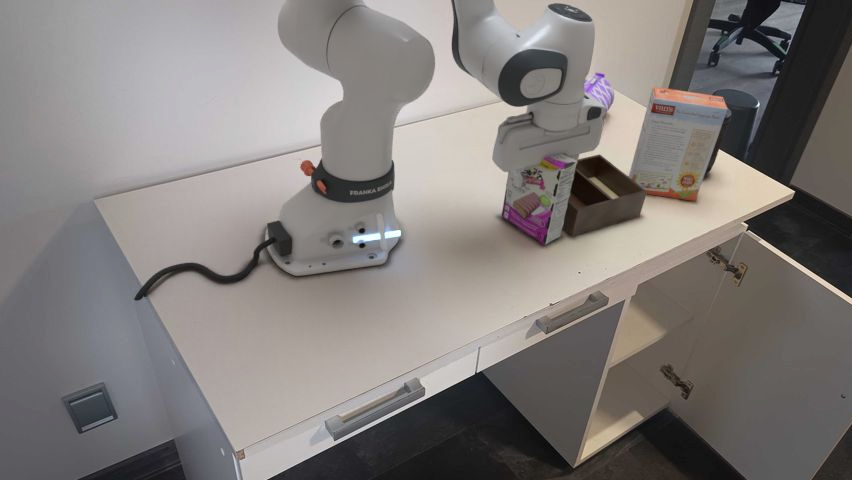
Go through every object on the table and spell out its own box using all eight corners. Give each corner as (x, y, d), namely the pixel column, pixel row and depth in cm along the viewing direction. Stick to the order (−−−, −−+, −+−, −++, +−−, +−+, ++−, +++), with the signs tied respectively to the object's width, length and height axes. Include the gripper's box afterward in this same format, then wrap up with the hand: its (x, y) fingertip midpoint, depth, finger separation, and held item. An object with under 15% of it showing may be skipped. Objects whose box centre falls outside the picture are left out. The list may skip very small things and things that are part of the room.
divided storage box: (571, 236, 126) (577, 210, 123) (527, 195, 135) (532, 169, 131) (639, 216, 134) (647, 191, 130) (593, 178, 143) (599, 154, 139)
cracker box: (692, 187, 145) (724, 95, 132) (695, 202, 141) (729, 109, 127) (627, 176, 145) (653, 83, 132) (628, 191, 141) (655, 97, 127)
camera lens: (666, 163, 152) (686, 100, 142) (697, 160, 154) (718, 99, 145) (685, 182, 146) (707, 119, 137) (716, 179, 149) (740, 117, 139)
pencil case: (577, 102, 170) (584, 65, 164) (612, 112, 168) (621, 76, 162) (547, 138, 154) (554, 99, 148) (586, 150, 152) (595, 111, 146)
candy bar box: (499, 218, 128) (511, 140, 117) (517, 209, 131) (530, 132, 120) (544, 247, 123) (560, 168, 112) (561, 237, 126) (579, 159, 115)
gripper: (510, 128, 105) (501, 202, 114) (614, 106, 114) (597, 176, 123) (489, 109, 108) (482, 182, 117) (591, 89, 117) (577, 159, 127)
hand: (541, 179), depth 120 cm, fingers open, 8 cm apart
